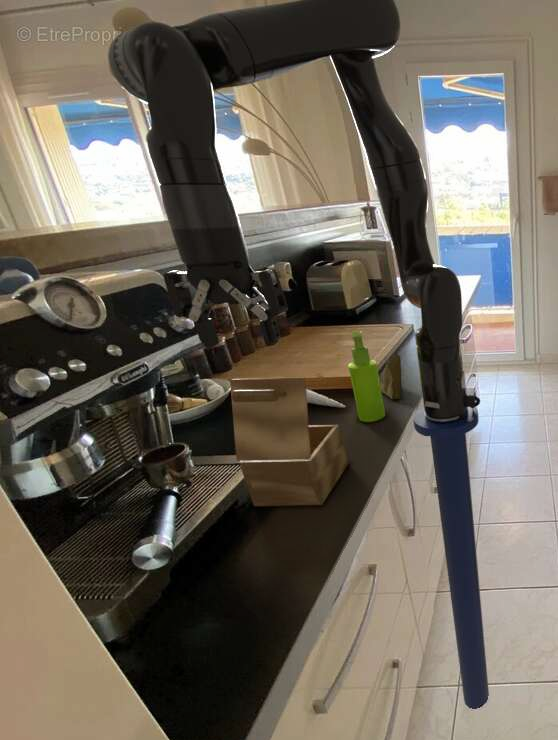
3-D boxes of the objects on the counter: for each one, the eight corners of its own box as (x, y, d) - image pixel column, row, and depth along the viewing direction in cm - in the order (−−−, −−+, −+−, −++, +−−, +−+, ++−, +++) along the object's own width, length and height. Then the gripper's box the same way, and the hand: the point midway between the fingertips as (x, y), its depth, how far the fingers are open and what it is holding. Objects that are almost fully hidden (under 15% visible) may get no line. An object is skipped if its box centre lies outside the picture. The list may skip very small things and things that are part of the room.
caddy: (288, 465, 86) (277, 425, 82) (348, 464, 86) (339, 424, 83) (253, 506, 75) (238, 462, 71) (322, 504, 75) (310, 461, 71)
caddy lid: (233, 378, 70) (211, 380, 65) (305, 377, 70) (289, 378, 66) (239, 459, 71) (218, 467, 67) (311, 458, 72) (295, 465, 67)
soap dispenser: (384, 407, 109) (370, 327, 100) (386, 419, 103) (371, 335, 95) (358, 411, 107) (342, 330, 99) (359, 424, 101) (342, 339, 93)
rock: (409, 392, 111) (419, 372, 119) (383, 368, 107) (395, 350, 116) (380, 414, 115) (391, 393, 123) (354, 391, 111) (368, 372, 120)
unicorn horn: (334, 415, 105) (329, 396, 103) (267, 398, 115) (262, 381, 113) (349, 407, 109) (345, 389, 107) (283, 391, 119) (279, 375, 117)
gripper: (276, 221, 61) (303, 336, 67) (171, 223, 60) (209, 338, 67) (245, 225, 54) (279, 352, 61) (126, 226, 54) (173, 354, 60)
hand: (242, 345), depth 64 cm, fingers open, 8 cm apart
